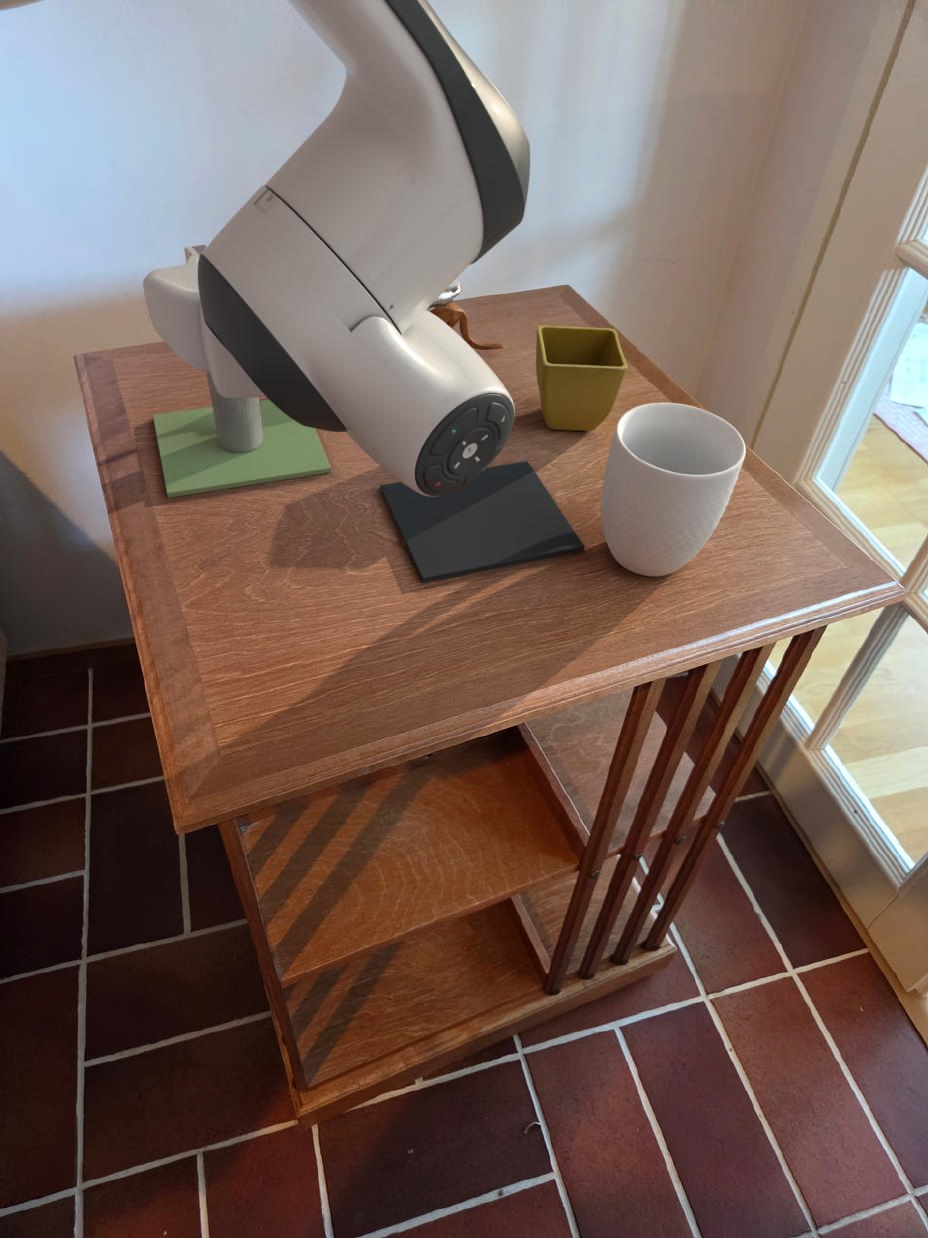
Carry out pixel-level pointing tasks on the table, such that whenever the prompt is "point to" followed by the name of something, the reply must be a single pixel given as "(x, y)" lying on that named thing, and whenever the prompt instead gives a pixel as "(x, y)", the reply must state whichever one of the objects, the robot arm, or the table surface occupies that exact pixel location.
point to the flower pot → (578, 375)
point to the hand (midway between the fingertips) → (256, 245)
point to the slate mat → (481, 523)
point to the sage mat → (209, 467)
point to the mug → (667, 484)
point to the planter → (236, 421)
